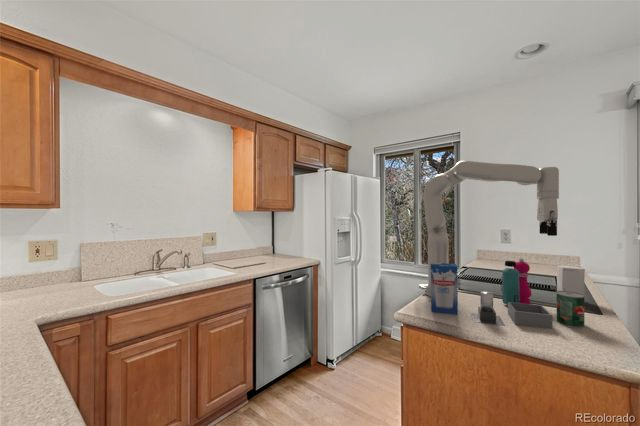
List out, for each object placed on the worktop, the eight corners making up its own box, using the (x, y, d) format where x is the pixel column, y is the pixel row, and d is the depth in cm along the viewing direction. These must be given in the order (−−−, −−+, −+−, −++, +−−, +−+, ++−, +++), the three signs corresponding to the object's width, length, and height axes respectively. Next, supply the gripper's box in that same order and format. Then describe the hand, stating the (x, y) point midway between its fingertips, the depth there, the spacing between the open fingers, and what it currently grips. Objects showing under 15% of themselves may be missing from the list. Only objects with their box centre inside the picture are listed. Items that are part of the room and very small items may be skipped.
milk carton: (431, 313, 117) (430, 265, 117) (430, 308, 123) (430, 262, 123) (458, 316, 114) (457, 266, 114) (456, 311, 120) (456, 263, 119)
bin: (514, 326, 103) (514, 311, 103) (507, 316, 114) (507, 302, 114) (552, 331, 99) (552, 315, 99) (541, 319, 109) (541, 305, 109)
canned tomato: (587, 329, 100) (587, 298, 100) (558, 325, 104) (558, 295, 104) (581, 321, 107) (581, 292, 107) (554, 317, 111) (554, 289, 111)
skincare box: (561, 301, 130) (561, 267, 129) (556, 297, 136) (556, 264, 136) (585, 303, 127) (585, 268, 126) (578, 299, 133) (578, 266, 132)
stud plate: (473, 324, 106) (473, 314, 106) (470, 314, 116) (470, 305, 116) (505, 328, 102) (505, 317, 102) (499, 318, 112) (499, 308, 112)
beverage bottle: (514, 310, 119) (514, 263, 119) (498, 306, 125) (498, 260, 125) (523, 308, 122) (523, 261, 122) (507, 303, 128) (507, 259, 128)
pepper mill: (525, 299, 133) (525, 257, 133) (535, 305, 126) (535, 259, 126) (508, 299, 134) (508, 257, 134) (518, 304, 127) (517, 259, 126)
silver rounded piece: (480, 320, 108) (479, 294, 107) (478, 315, 112) (478, 290, 112) (496, 322, 106) (495, 295, 105) (493, 317, 110) (493, 291, 110)
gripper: (531, 196, 135) (531, 232, 135) (544, 195, 119) (544, 236, 119) (550, 196, 132) (551, 233, 132) (566, 194, 116) (566, 236, 116)
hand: (547, 234), depth 125 cm, fingers open, 9 cm apart
